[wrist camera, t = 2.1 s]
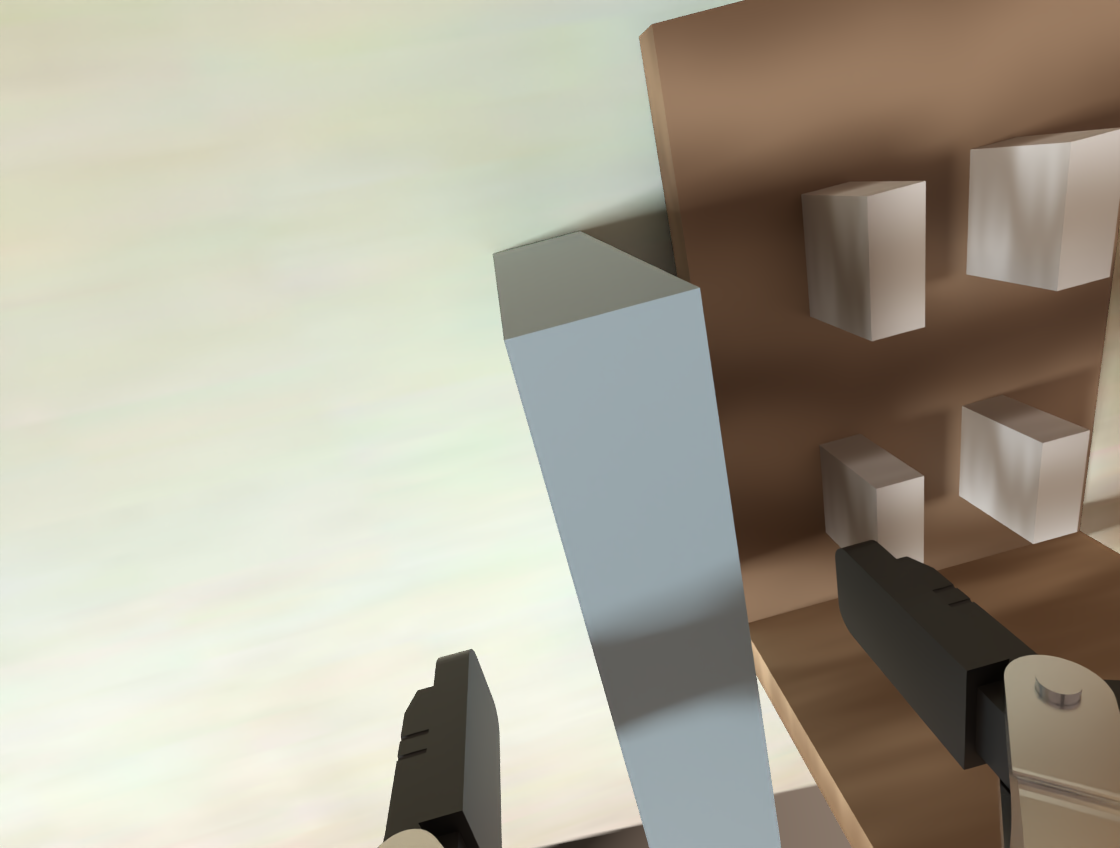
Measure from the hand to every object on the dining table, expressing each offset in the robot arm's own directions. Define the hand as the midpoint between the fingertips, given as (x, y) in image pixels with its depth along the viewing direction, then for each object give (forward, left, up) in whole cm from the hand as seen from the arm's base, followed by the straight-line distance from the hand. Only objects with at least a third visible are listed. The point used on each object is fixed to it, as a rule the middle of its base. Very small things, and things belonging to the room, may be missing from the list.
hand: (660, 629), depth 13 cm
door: (0, 0, -11) cm, 11 cm away
